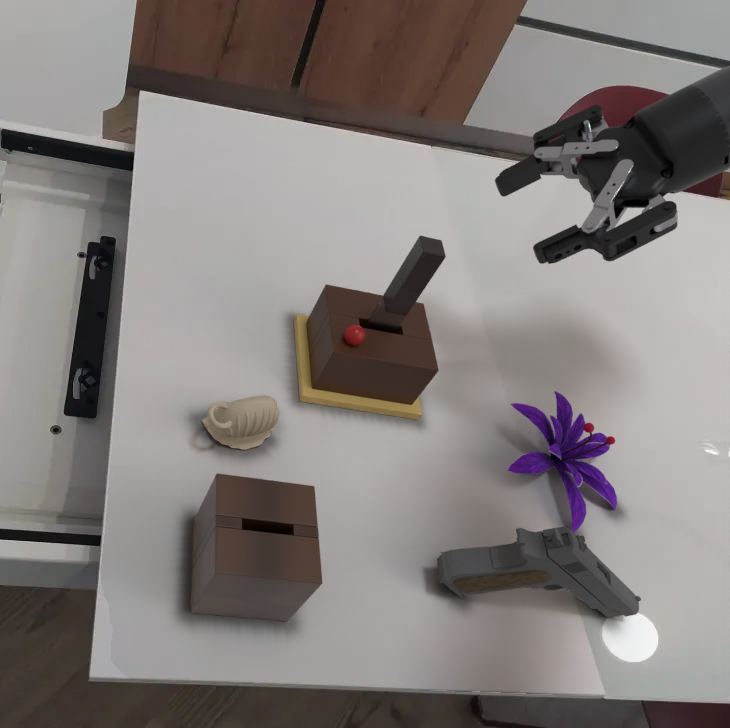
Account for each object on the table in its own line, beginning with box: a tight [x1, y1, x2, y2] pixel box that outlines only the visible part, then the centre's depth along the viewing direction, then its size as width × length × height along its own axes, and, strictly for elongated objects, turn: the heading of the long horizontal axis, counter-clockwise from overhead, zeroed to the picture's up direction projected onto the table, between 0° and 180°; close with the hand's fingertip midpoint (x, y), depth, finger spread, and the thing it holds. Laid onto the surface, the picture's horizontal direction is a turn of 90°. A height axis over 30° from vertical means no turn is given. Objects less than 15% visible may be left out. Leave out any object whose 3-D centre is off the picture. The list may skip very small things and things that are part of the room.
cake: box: [293, 283, 440, 421], centre depth 75 cm, size 13×11×9 cm
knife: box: [363, 235, 447, 333], centre depth 71 cm, size 3×2×17 cm
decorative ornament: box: [201, 395, 280, 451], centre depth 67 cm, size 4×8×5 cm, turn 110°
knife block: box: [190, 473, 323, 622], centre depth 58 cm, size 8×8×8 cm
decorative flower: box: [507, 390, 618, 534], centre depth 74 cm, size 14×15×7 cm
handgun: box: [436, 525, 642, 618], centre depth 65 cm, size 3×18×12 cm
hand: (516, 220), depth 65 cm, fingers open, 8 cm apart
